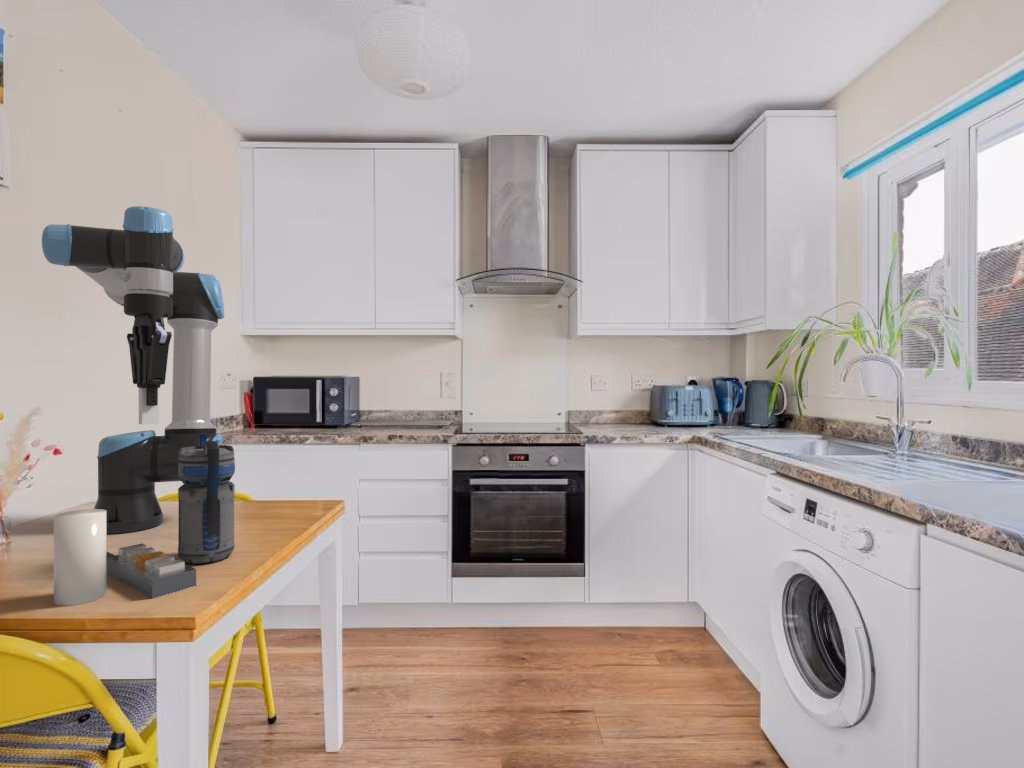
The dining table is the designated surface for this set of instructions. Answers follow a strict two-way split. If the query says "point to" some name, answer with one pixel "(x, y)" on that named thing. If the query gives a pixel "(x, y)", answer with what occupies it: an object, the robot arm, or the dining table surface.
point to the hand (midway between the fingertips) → (148, 423)
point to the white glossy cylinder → (79, 556)
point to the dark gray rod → (108, 554)
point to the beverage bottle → (206, 502)
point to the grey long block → (150, 571)
